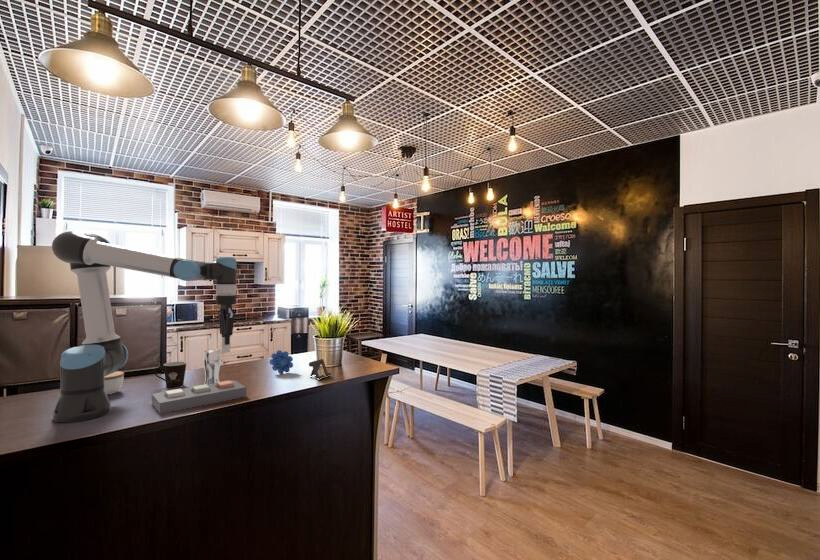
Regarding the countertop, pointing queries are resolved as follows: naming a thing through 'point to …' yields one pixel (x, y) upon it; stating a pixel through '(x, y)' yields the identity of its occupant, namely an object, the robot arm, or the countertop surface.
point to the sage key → (200, 388)
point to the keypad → (197, 397)
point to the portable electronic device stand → (316, 367)
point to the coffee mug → (173, 374)
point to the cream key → (174, 393)
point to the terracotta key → (225, 384)
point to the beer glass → (212, 366)
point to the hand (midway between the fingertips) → (225, 352)
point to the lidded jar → (113, 382)
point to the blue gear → (281, 361)
